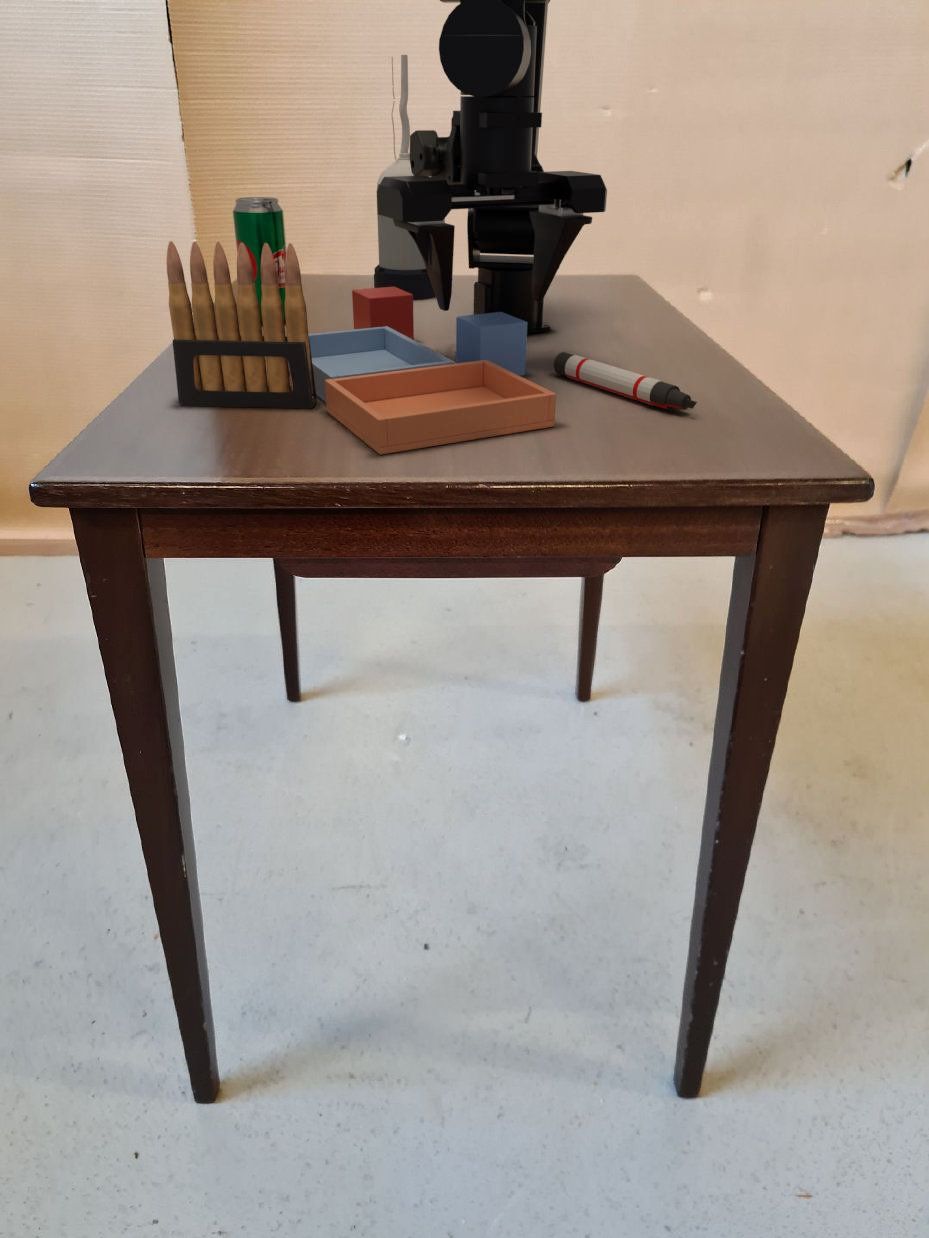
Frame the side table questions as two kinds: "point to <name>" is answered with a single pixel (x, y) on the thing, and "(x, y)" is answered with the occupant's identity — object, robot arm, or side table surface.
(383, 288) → the red block
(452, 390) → the terracotta tray
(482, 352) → the blue block
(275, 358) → the ammunition clip
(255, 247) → the soda can
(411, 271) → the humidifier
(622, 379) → the marker
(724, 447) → the side table surface
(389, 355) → the blue tray
